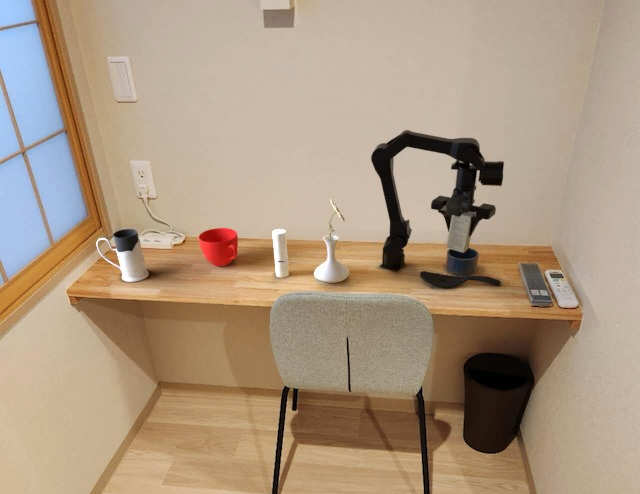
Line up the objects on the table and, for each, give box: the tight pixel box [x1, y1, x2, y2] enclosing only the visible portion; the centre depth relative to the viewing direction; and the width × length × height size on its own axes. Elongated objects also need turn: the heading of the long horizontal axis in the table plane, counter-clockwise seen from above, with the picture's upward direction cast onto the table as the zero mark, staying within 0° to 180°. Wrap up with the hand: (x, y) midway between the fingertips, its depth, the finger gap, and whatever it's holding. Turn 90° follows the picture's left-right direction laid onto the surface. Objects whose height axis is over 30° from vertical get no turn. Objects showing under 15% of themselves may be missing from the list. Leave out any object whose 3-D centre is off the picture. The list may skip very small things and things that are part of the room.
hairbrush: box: [419, 269, 502, 290], centre depth 171 cm, size 8×4×25 cm
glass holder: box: [95, 228, 150, 283], centre depth 179 cm, size 9×14×15 cm, turn 94°
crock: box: [444, 247, 480, 276], centre depth 179 cm, size 10×10×6 cm
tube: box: [271, 228, 290, 278], centre depth 176 cm, size 4×4×15 cm
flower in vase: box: [313, 198, 350, 284], centre depth 171 cm, size 13×11×25 cm
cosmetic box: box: [445, 211, 474, 253], centre depth 170 cm, size 6×4×12 cm
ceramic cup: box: [198, 227, 239, 267], centre depth 186 cm, size 13×17×10 cm
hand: (459, 233), depth 171 cm, fingers closed on cosmetic box, 6 cm apart
